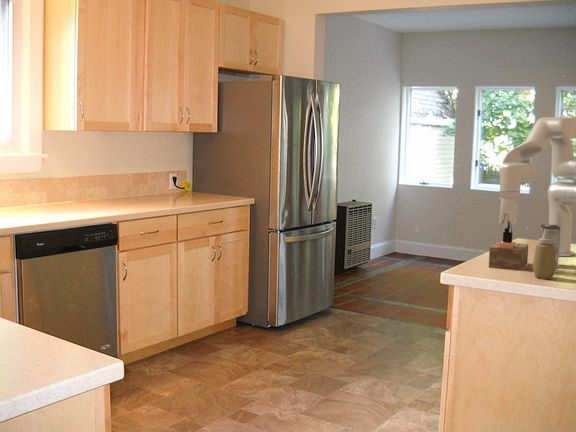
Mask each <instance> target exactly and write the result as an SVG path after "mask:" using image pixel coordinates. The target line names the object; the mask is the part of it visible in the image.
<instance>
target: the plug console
mask: <svg viewBox="0 0 576 432" xmlns="http://www.w3.org/2000/svg"><path fill="white" fill-rule="evenodd" d="M500 242H501V241H497V242H496V243H494V244H492V245H491V246H489V256H488V268H491V269H500V268H501V270H502V269H503V270H512V271H522V270H523V269H524V267H526V266H527V265H528V263H529V262H528V259H529V244H527V243H516V242H515V244H519V245H518V246H515V248H514V249H510V248H500Z"/></svg>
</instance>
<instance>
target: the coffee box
mask: <svg viewBox="0 0 576 432" xmlns="http://www.w3.org/2000/svg"><path fill="white" fill-rule="evenodd" d="M544 229H548V232H549V238H550V239H552V245H554V246H555V259H556V269H558V268H559V257H560V256H559V242H560V227H559V226H558V225H549V224H545V223H544V224H540V237H539V238H542V236H543V233H544Z"/></svg>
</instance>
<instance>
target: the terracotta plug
mask: <svg viewBox="0 0 576 432" xmlns="http://www.w3.org/2000/svg"><path fill="white" fill-rule="evenodd" d="M499 242H500V248H510V249H514V248H515V243H516V241H512V242H511V243H505V242H503V240H502V241H499Z"/></svg>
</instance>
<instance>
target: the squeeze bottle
mask: <svg viewBox="0 0 576 432" xmlns="http://www.w3.org/2000/svg"><path fill="white" fill-rule="evenodd" d="M534 250H535V251H534V254H533V255H534V256H533V263H532V270H533V274H534V276H535V278H537V279H540V280H550V279H553V278H554V275H555V272H556V269H557V268H556V259H555V246H554V245H552V239H550V238H549V232H548V229H544V233H543V236H542V238H540V237H539V238H538V244H536V245H535V249H534Z"/></svg>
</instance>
